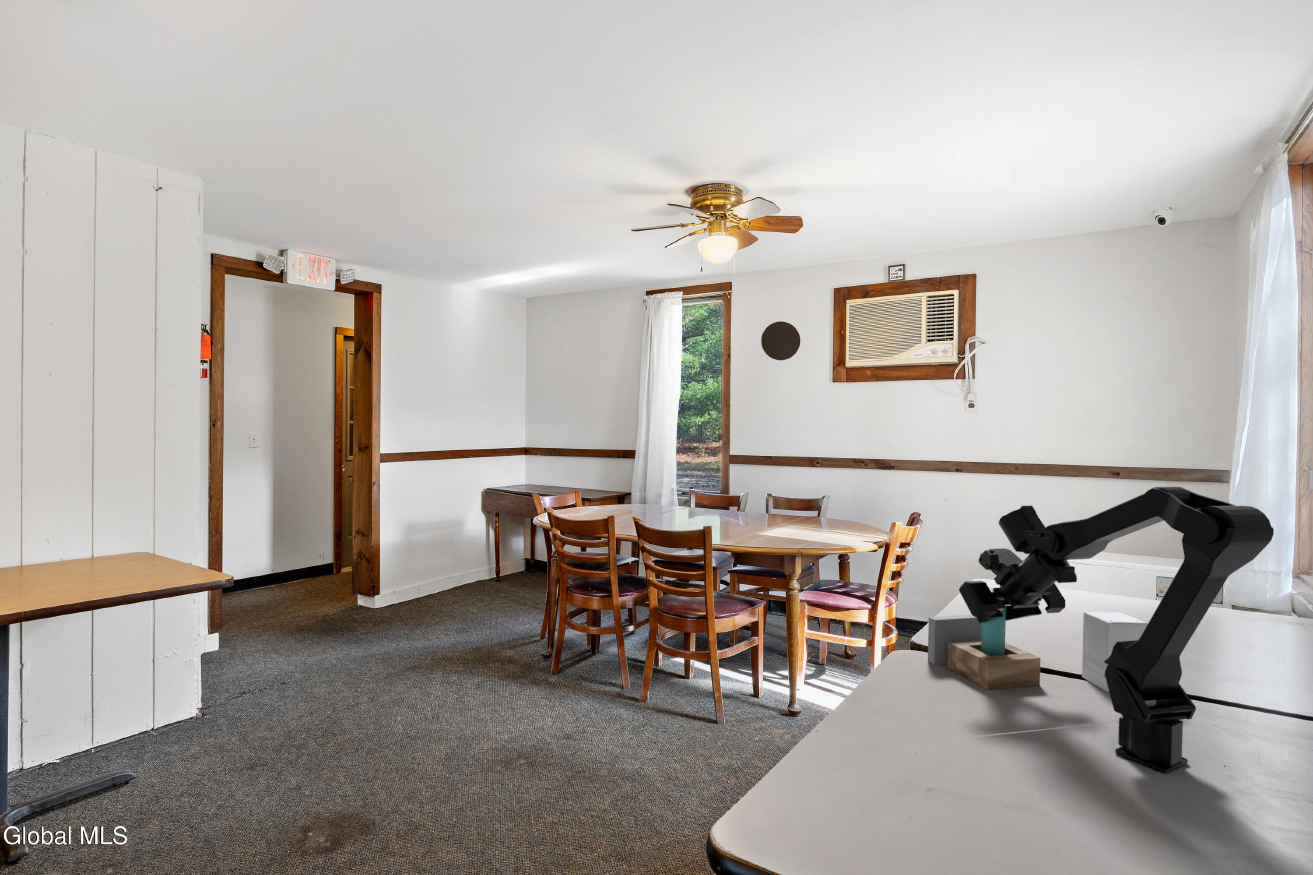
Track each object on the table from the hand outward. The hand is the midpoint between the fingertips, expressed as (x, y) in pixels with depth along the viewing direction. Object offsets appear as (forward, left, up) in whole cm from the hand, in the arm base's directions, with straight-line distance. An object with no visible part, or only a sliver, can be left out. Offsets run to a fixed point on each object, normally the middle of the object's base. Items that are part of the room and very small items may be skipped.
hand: (988, 620), depth 128 cm
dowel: (-1, 0, -7) cm, 7 cm away
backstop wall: (+7, -2, -10) cm, 13 cm away
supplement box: (-14, -17, -11) cm, 24 cm away
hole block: (-1, 0, -10) cm, 10 cm away
